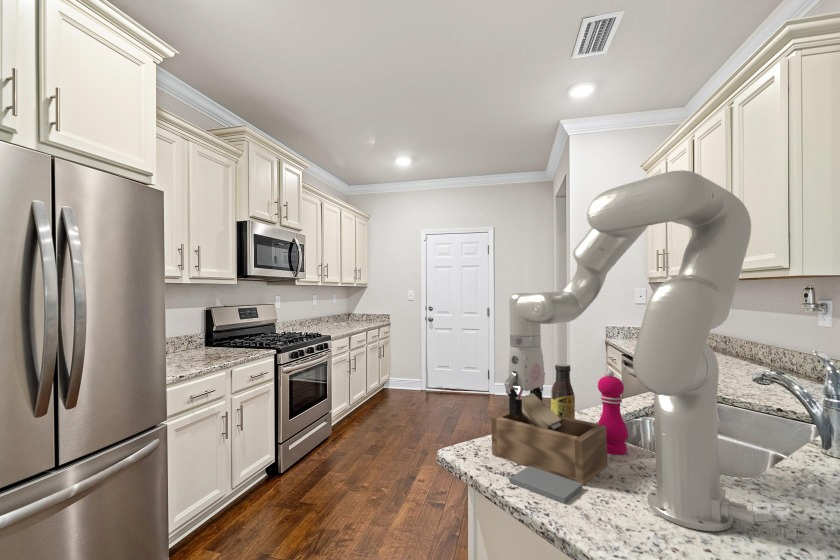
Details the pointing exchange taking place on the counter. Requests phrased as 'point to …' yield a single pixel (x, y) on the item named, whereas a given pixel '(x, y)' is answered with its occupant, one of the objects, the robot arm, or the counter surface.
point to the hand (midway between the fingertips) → (526, 410)
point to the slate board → (546, 484)
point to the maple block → (538, 411)
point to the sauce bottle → (563, 393)
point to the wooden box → (552, 446)
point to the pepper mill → (613, 413)
